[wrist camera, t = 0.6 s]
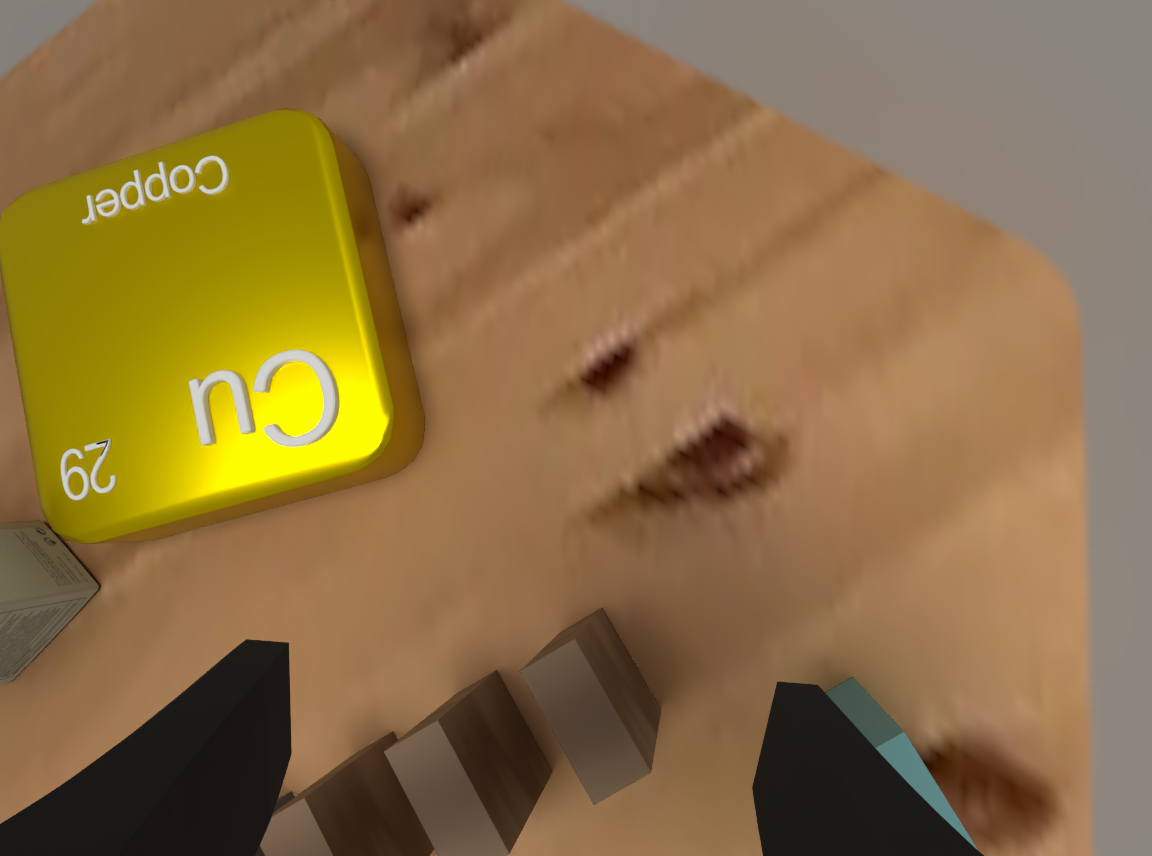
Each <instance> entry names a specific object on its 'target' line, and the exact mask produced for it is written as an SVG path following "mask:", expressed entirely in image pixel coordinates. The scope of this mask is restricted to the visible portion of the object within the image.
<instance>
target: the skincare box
mask: <svg viewBox="0 0 1152 856" xmlns="http://www.w3.org/2000/svg"><path fill="white" fill-rule="evenodd" d="M98 588H99V586H98V584H97V583H96V582H95V581H94V579H93V578H92V577H91V576H90V575H89V573H88V572H87V571H86V570H85V569H84V567H83V566H82V565H81V564H80V563H79V562H78V560H77V559H76V558H75V557H74V556H73V555H72V553H71V552H70V551H69V550H68V549H67V548H66V547H65V546H64V544H63V543H62V542H61V541H60V540H59V539H58V538H57V536H56V535H55V534H54V533H53V532H52V531H51V530H50V529H49V528H48V527H47V526H46V525H45V523H43V522H42V521H28V522H10V523H0V685H2V684H6V683H9V682H11V681H12V680H13V679H14V678H15V677H16V676H17V675H18V674H19V673H20V672H21V671H22V670H23V669H24V668H25V667H26V666H27V665H28V664H29V663H30V662H31V661H32V660H33V659H34V658H35V657H36V656H37V655H38V654H39V653H40V652H41V651H42V650H43V649H44V648H45V647H46V646H47V644H48V643H49V642H50V641H51V640H52V639H53V638H54V637H55V636H56V635H57V634H58V633H59V632H60V631H61V630H62V629H63V628H64V627H65V625H66V624H67V623H68V622H69V621H70V620H71V619H72V618H73V617H74V616H75V615H76V614H77V613H78V612H79V611H80V609H81V608H82V607H83V606H84V605H85V604H86V603H87V601H88V600H89V599H90V598H91V597H92V596H93V595H94V594H95V592H96V591H97V590H98Z"/></svg>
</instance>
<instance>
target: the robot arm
mask: <svg viewBox="0 0 1152 856" xmlns="http://www.w3.org/2000/svg"><path fill="white" fill-rule="evenodd" d="M290 757H291V715H290V674H289V643H285V642H273V641H260V640H247V639H246V640H245V641H244V642H242V643H241V644H240V645H239V646H237V647H236V648H235V649H234V650H232V651H231V652H230V653H229V654H228V655H226V656H225V657H224V658H223V659H222V660H220V661H219V662H218V663H217V664H216V665H215V666H213V667H212V668H211V669H210V670H209V671H207V672H206V673H205V674H204V675H203V676H202V677H200V678H199V679H198V680H197V681H196V682H195V683H193V684H192V685H191V686H190V687H189V688H187V689H186V690H185V691H184V692H183V693H181V694H180V695H179V696H178V697H177V698H175V699H174V700H173V701H172V702H170V703H169V704H168V705H167V706H166V707H164V708H163V709H162V710H161V711H159V712H158V713H157V714H156V715H154V716H153V717H152V718H151V719H149V720H148V721H147V722H146V723H144V724H143V725H142V726H141V727H139V728H138V729H137V730H136V731H134V732H133V733H132V734H131V735H129V736H128V737H127V738H125V739H124V740H123V741H121V742H120V743H119V744H117V745H116V746H115V747H113V748H112V749H111V750H109V751H108V752H106V753H105V754H104V755H102V756H101V757H100V758H98V759H97V760H96V761H94V762H93V763H92V764H90V765H89V766H87V767H86V768H85V769H83V770H82V771H81V772H79V773H78V774H77V775H75V776H74V777H72V778H71V779H70V780H68V781H67V782H65V783H64V784H62V785H61V786H59V787H58V788H56V789H55V790H53V791H52V792H50V793H49V794H47V795H46V796H44V797H43V798H41V799H40V800H38V801H36V802H35V803H33V804H32V805H30V806H28V807H27V808H25V809H24V810H22V811H20V812H19V813H17V814H16V815H14V816H12V817H11V818H9V819H8V820H6V821H4V822H3V823H1V824H0V856H255V855H256V853H257V850H258V848H259V846H260V844H261V841H262V839H263V837H264V835H265V832H266V830H267V828H268V825H269V823H270V821H271V818H272V814H273V811H274V808H275V805H276V802H277V799H278V796H279V793H280V790H281V787H282V783H283V780H284V777H285V773H286V770H287V767H288V764H289V760H290ZM752 789H753V796H754V802H755V809H756V816H757V823H758V829H759V835H760V840H761V846H762V852H763V856H984V855H983V854H982V853H980V852H979V851H978V850H977V849H976V848H975V847H974V846H973V845H972V844H970V843H969V842H968V841H967V840H966V839H965V838H964V837H963V836H962V835H961V834H960V833H959V832H958V831H957V830H956V829H955V828H954V827H952V826H951V825H950V824H949V823H948V822H947V821H946V820H945V819H944V818H943V817H942V816H941V815H940V814H939V813H938V812H937V811H936V810H935V809H934V808H933V807H932V806H931V805H930V804H929V803H928V802H927V801H926V800H925V799H924V798H923V797H922V796H921V795H920V794H919V793H918V792H917V791H916V790H915V789H914V788H913V787H912V786H911V785H910V784H909V783H908V782H907V781H906V780H905V779H904V778H903V777H902V776H901V775H900V774H899V773H898V772H897V771H896V770H895V769H894V767H893V766H892V765H891V764H890V763H889V762H888V761H887V760H886V759H885V758H884V757H883V756H882V755H881V754H880V752H879V751H878V750H877V749H876V748H875V747H874V746H873V745H872V744H871V743H870V742H869V740H868V739H867V738H866V737H865V736H864V735H863V734H862V733H861V732H860V731H859V730H858V728H857V727H856V726H855V725H854V724H853V723H852V722H851V721H850V720H849V718H848V717H847V716H846V715H845V714H844V713H843V712H842V711H841V710H840V708H839V707H838V706H837V705H836V704H835V703H834V702H833V701H832V700H831V699H830V698H829V696H828V695H827V694H826V693H825V692H824V691H823V690H822V689H821V688H820V687H819V686H818V685H812V684H799V683H787V682H777V685H776V690H775V694H774V698H773V702H772V706H771V711H770V715H769V719H768V723H767V728H766V732H765V736H764V740H763V745H762V749H761V753H760V757H759V762H758V766H757V770H756V774H755V779H754V783H753V787H752Z"/></svg>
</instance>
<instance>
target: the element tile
mask: <svg viewBox="0 0 1152 856" xmlns="http://www.w3.org/2000/svg"><path fill="white" fill-rule="evenodd" d="M0 274H1V280H2V286H3V292H4V298H5V304H6V309H7V315H8V321H9V327H10V333H11V338H12V344H13V350H14V356H15V362H16V368H17V373H18V379H19V385H20V391H21V397H22V402H23V408H24V414H25V420H26V426H27V432H28V437H29V443H30V449H31V455H32V461H33V466H34V472H35V478H36V484H37V490H38V496H39V501H40V507H41V509H42V512H43V514H44V517H45V518H46V520H47V521H48V523H49V524H50V526H51V528H52V529H53V531H54V532H56V533H57V534H59V535H60V536H61V537H63V538H64V539H66V540H68V541H72V542H77V543H83V544H97V543H113V542H129V541H145V540H156V539H160V538H164V537H167V536H171V535H175V534H178V533H182V532H186V531H190V530H193V529H197V528H201V527H204V526H208V525H212V524H216V523H219V522H223V521H227V520H230V519H234V518H238V517H242V516H245V515H249V514H253V513H256V512H260V511H264V510H268V509H271V508H275V507H279V506H282V505H286V504H290V503H294V502H297V501H301V500H305V499H308V498H312V497H316V496H320V495H323V494H327V493H331V492H334V491H338V490H342V489H346V488H349V487H353V486H357V485H360V484H364V483H368V482H371V481H375V480H379V479H383V478H386V477H388V476H390V475H393V474H395V473H397V472H400V471H401V470H402V469H403V468H405V467H406V466H407V465H408V464H410V463H411V462H412V461H414V459H415V457H416V455H417V454H418V452H419V450H420V449H421V447H422V443H423V437H424V431H425V417H424V412H423V408H422V404H421V400H420V395H419V391H418V387H417V382H416V378H415V374H414V369H413V365H412V361H411V357H410V352H409V348H408V344H407V339H406V335H405V331H404V326H403V322H402V318H401V313H400V309H399V305H398V301H397V296H396V292H395V288H394V283H393V279H392V275H391V270H390V266H389V262H388V258H387V253H386V249H385V245H384V240H383V236H382V232H381V227H380V223H379V219H378V214H377V210H376V206H375V202H374V197H373V193H372V189H371V184H370V180H369V177H368V175H367V173H366V170H365V168H364V166H363V165H362V164H361V162H360V161H359V160H358V159H357V157H356V156H355V155H354V154H353V153H352V151H351V150H350V149H349V148H348V147H347V146H346V145H345V144H344V143H343V142H342V141H341V140H340V139H339V138H338V137H337V136H336V135H335V134H334V133H333V132H332V131H331V130H330V129H329V128H328V126H327V125H326V124H325V123H324V122H323V121H322V120H321V119H320V118H318V117H316V116H314V115H313V114H311V113H309V112H307V111H305V110H300V109H289V108H285V109H279V110H273V111H269V112H266V113H263V114H260V115H257V116H253V117H250V118H247V119H244V120H241V121H238V122H235V123H232V124H229V125H226V126H223V127H220V128H216V129H213V130H210V131H207V132H204V133H201V134H198V135H195V136H192V137H189V138H186V139H183V140H180V141H176V142H173V143H170V144H167V145H164V146H161V147H158V148H155V149H152V150H149V151H146V152H143V153H139V154H136V155H133V156H130V157H127V158H124V159H121V160H118V161H115V162H112V163H109V164H106V165H103V166H99V167H96V168H93V169H90V170H87V171H84V172H81V173H78V174H75V175H72V176H69V177H66V178H62V179H59V180H56V181H53V182H50V183H47V184H44V185H41V186H38V187H35V188H32V189H31V190H29V191H27V192H25V193H23V194H21V195H20V196H19V197H18V198H16V199H15V200H14V201H13V202H12V203H10V204H9V205H8V207H7V208H6V210H5V211H4V212H3V214H2V215H1V218H0Z"/></svg>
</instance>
